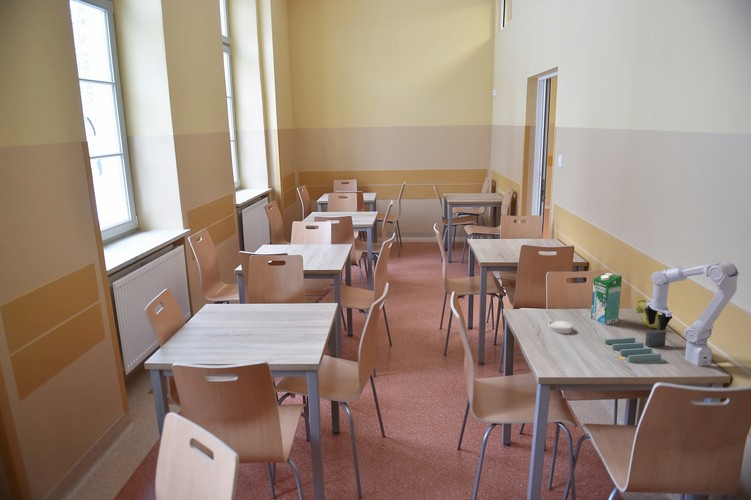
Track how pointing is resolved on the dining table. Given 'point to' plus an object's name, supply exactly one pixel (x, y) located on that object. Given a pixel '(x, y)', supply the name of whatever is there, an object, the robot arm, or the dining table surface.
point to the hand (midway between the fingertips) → (656, 326)
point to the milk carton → (606, 298)
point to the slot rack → (634, 351)
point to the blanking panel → (655, 338)
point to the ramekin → (560, 327)
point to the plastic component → (641, 309)
